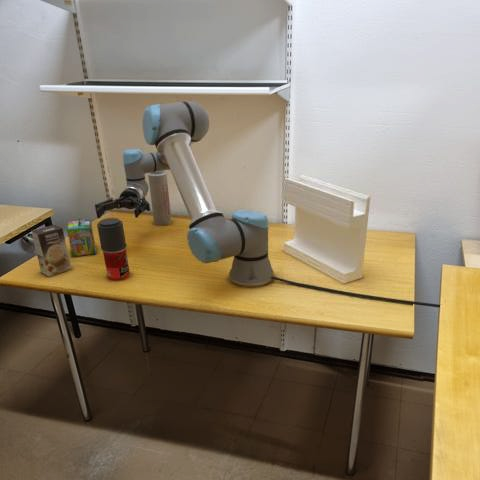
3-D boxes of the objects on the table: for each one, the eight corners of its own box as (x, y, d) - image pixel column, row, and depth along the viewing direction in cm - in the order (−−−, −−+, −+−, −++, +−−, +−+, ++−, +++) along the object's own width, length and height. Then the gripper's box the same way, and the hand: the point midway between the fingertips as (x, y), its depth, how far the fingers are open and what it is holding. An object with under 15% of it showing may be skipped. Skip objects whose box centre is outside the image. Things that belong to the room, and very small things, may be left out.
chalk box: (72, 248, 195) (65, 213, 187) (96, 246, 197) (89, 211, 189) (71, 257, 187) (63, 220, 180) (96, 254, 189) (88, 218, 182)
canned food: (125, 281, 167) (120, 252, 161) (103, 280, 168) (98, 250, 163) (133, 272, 173) (129, 243, 168) (113, 271, 175) (108, 242, 169)
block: (361, 277, 164) (370, 196, 149) (343, 283, 160) (350, 201, 146) (299, 246, 190) (302, 174, 176) (283, 250, 186) (284, 178, 172)
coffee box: (48, 277, 172) (37, 234, 164) (40, 272, 176) (29, 230, 168) (72, 269, 177) (62, 227, 169) (64, 264, 181) (54, 223, 173)
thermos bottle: (175, 221, 221) (168, 158, 207) (164, 226, 215) (156, 162, 201) (161, 219, 224) (154, 157, 210) (150, 224, 219) (142, 161, 205)
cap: (131, 247, 165) (127, 220, 160) (108, 254, 160) (104, 227, 155) (118, 240, 170) (114, 215, 166) (96, 247, 166) (91, 221, 161)
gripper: (164, 206, 188) (153, 224, 169) (101, 207, 189) (84, 225, 171) (161, 186, 184) (150, 203, 165) (98, 188, 185) (79, 204, 167)
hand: (116, 214), depth 168 cm, fingers open, 13 cm apart
